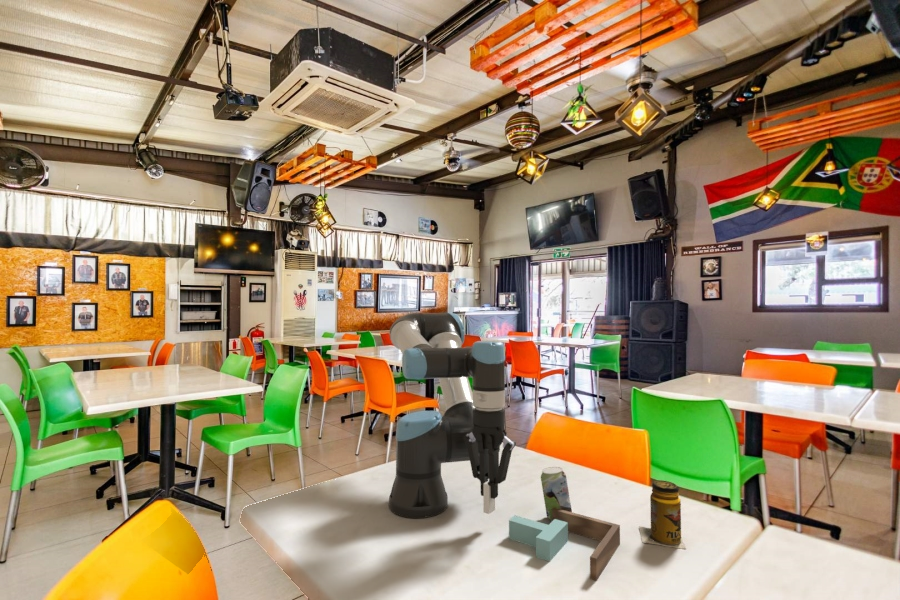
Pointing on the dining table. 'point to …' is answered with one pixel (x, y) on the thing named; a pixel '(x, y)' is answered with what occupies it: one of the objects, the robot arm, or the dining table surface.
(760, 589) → the dining table surface
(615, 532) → the corner fence
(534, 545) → the t block
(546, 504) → the beverage can
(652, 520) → the condiment
